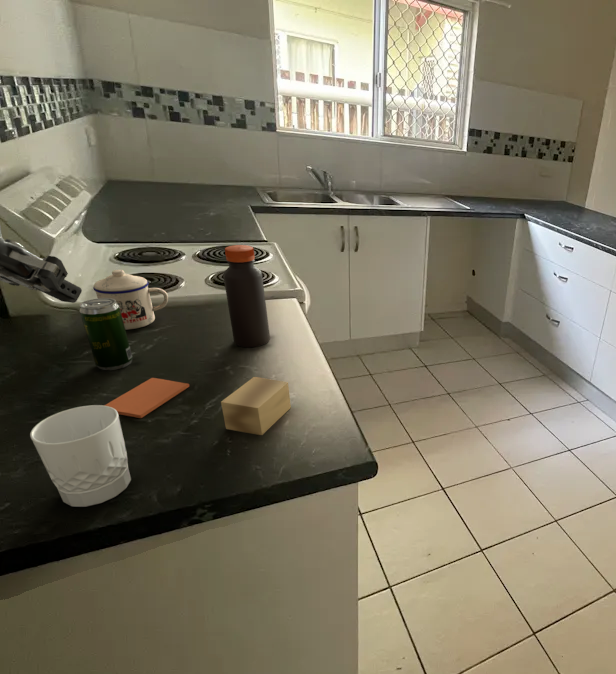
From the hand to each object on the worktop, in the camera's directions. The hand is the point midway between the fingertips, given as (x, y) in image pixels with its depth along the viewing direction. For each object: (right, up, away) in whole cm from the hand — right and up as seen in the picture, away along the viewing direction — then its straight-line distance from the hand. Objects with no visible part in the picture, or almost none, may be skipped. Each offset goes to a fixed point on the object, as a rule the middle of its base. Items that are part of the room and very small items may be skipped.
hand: (74, 295), depth 62 cm
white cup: (+4, -25, -1) cm, 25 cm away
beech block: (+16, -18, +15) cm, 29 cm away
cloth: (-3, -16, +17) cm, 23 cm away
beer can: (-16, -11, +25) cm, 32 cm away
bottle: (+3, -6, +39) cm, 39 cm away
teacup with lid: (-24, -2, +42) cm, 48 cm away
